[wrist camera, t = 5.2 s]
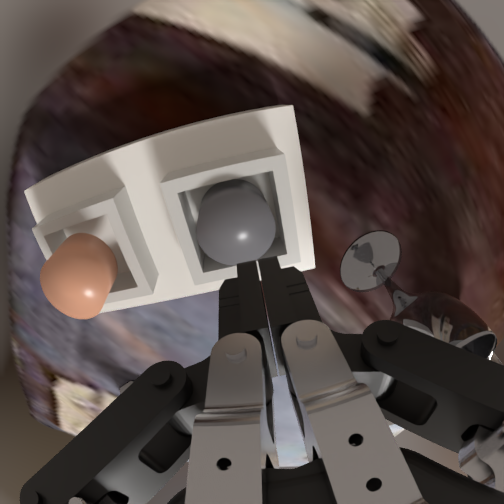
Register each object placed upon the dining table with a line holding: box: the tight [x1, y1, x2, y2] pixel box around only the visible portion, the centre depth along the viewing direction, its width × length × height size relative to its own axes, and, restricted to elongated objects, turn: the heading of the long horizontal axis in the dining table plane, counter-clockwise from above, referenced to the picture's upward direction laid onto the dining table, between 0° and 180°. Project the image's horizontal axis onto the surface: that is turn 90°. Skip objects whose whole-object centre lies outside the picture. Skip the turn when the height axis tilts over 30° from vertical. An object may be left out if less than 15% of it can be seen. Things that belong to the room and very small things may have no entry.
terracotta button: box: [40, 233, 118, 319], centre depth 15 cm, size 4×4×3 cm
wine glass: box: [340, 231, 497, 360], centre depth 21 cm, size 8×8×15 cm
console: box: [24, 105, 315, 313], centre depth 20 cm, size 20×12×6 cm, turn 101°
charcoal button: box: [196, 179, 276, 265], centre depth 17 cm, size 4×4×3 cm
